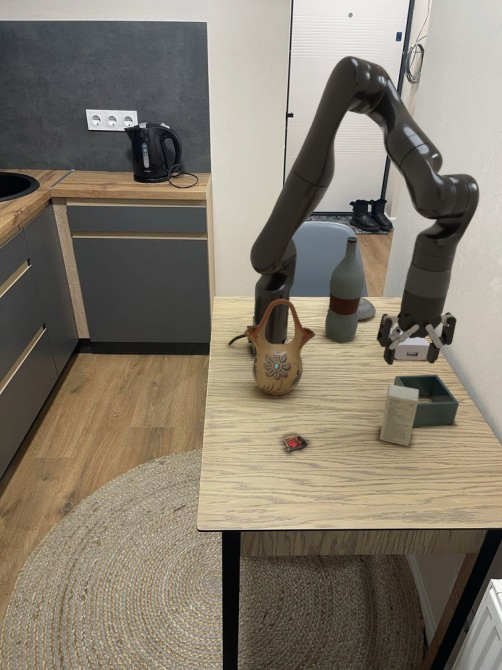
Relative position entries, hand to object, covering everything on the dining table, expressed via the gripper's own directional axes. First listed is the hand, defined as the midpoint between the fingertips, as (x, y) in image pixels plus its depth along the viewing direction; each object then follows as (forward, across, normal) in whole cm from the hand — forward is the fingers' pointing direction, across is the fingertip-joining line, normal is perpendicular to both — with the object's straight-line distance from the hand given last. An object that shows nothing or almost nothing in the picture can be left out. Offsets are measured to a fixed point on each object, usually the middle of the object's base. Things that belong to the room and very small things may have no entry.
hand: (409, 362), depth 98 cm
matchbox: (+20, +22, 0) cm, 29 cm away
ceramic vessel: (+20, +23, -19) cm, 36 cm away
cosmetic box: (+20, 0, 0) cm, 20 cm away
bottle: (+20, 0, -45) cm, 49 cm away
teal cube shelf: (+19, -10, -9) cm, 24 cm away
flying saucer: (+20, -8, -60) cm, 64 cm away
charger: (+20, -17, -38) cm, 46 cm away
